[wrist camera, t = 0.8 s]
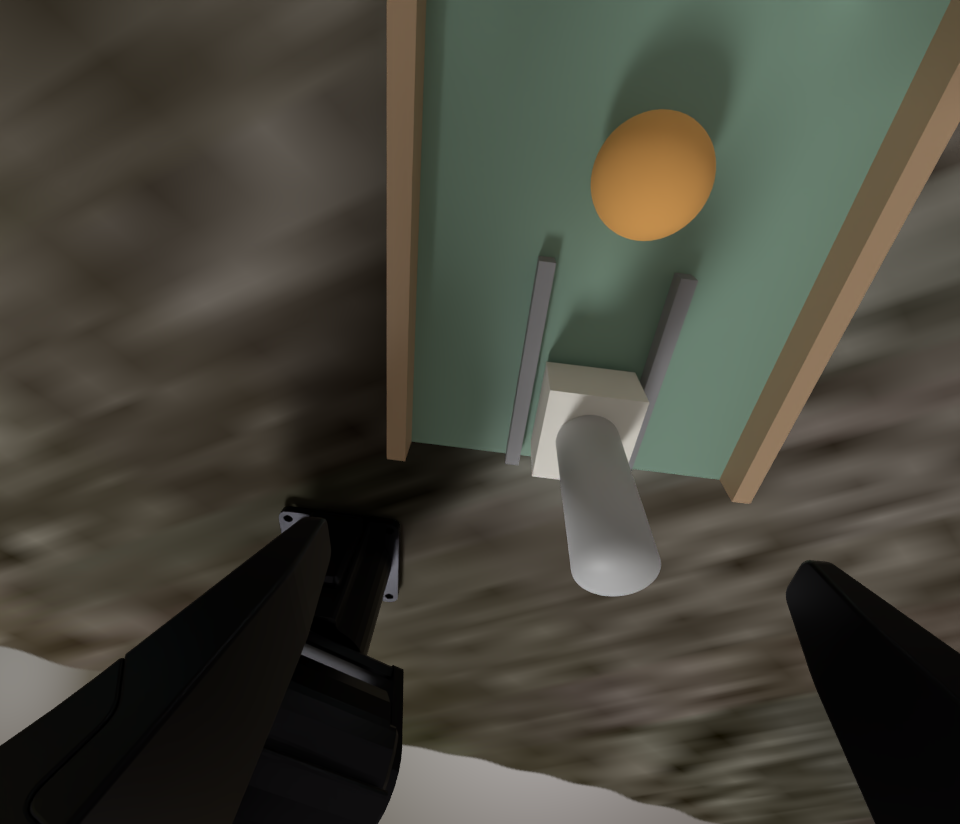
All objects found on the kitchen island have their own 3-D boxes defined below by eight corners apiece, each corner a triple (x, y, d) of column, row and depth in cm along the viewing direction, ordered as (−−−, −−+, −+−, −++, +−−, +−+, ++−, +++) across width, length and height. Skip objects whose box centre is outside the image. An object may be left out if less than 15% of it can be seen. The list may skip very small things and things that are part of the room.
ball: (673, 234, 16) (707, 259, 14) (574, 222, 16) (587, 244, 14) (709, 117, 15) (758, 116, 12) (597, 103, 15) (618, 99, 12)
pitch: (729, 470, 23) (750, 503, 21) (397, 429, 23) (386, 458, 21) (1091, -265, 11) (1216, -349, 9) (410, -349, 11) (386, -451, 9)
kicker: (610, 451, 21) (658, 620, 14) (530, 441, 21) (537, 605, 14) (635, 372, 19) (706, 523, 12) (546, 361, 19) (564, 505, 12)
